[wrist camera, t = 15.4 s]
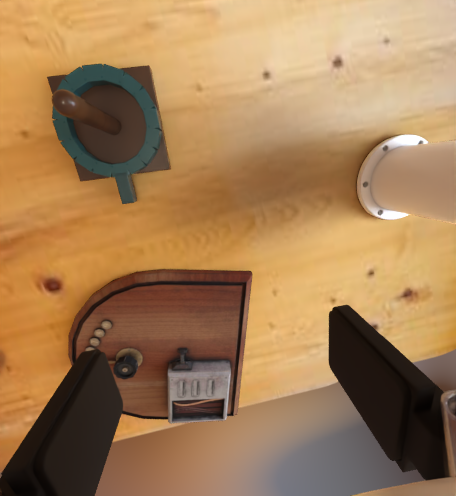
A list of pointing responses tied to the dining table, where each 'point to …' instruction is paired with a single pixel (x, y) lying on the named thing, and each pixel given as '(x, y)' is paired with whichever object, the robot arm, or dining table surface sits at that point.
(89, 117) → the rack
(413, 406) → the robot arm
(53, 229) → the dining table surface
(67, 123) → the ring
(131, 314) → the control panel
